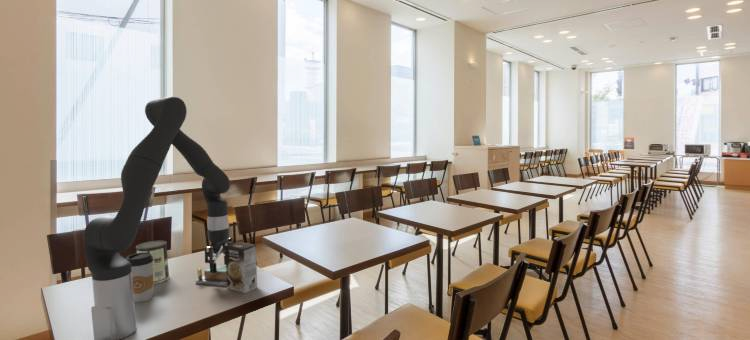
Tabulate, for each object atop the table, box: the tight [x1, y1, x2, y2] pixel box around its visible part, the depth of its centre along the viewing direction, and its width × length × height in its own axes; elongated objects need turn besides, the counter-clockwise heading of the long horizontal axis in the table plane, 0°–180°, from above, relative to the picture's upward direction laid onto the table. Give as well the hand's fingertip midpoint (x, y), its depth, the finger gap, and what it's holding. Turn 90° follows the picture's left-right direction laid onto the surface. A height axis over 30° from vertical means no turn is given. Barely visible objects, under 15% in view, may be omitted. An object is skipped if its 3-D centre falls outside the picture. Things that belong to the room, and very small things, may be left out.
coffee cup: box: [125, 252, 154, 303], centre depth 134 cm, size 8×8×15 cm
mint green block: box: [204, 265, 227, 280], centre depth 150 cm, size 10×6×3 cm, turn 84°
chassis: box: [195, 267, 227, 287], centre depth 150 cm, size 11×14×5 cm
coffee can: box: [135, 240, 170, 285], centre depth 150 cm, size 10×10×14 cm
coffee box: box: [225, 241, 258, 294], centre depth 141 cm, size 9×6×16 cm
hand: (220, 268), depth 150 cm, fingers open, 8 cm apart
